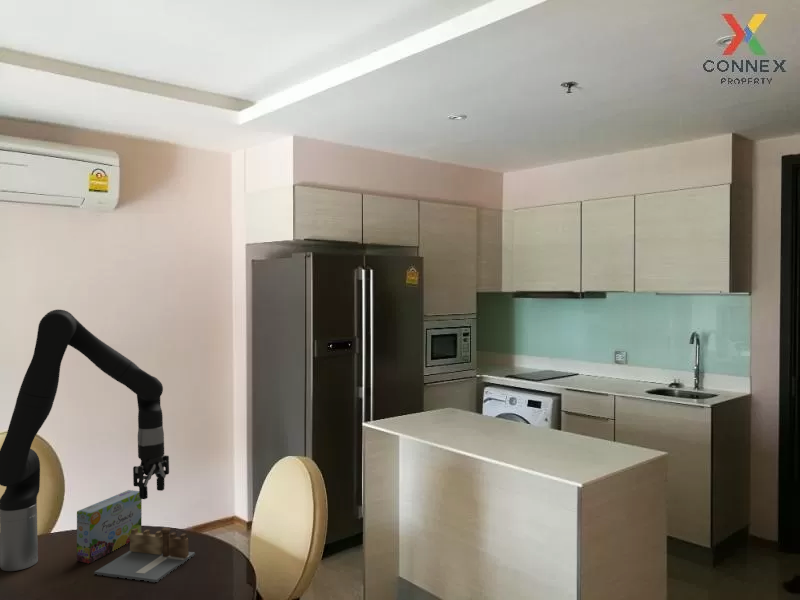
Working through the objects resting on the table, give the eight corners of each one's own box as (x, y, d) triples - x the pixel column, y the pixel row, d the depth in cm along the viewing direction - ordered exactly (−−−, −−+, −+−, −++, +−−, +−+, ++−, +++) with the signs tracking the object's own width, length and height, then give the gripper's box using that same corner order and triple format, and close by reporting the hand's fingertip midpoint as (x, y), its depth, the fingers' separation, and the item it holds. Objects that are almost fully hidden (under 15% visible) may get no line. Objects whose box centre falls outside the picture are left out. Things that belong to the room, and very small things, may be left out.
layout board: (94, 574, 174) (94, 571, 174) (137, 548, 191) (137, 545, 191) (156, 582, 168) (156, 579, 168) (195, 555, 186) (195, 552, 186)
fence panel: (129, 551, 186) (129, 529, 186) (133, 549, 188) (133, 528, 187) (160, 554, 183) (160, 533, 183) (163, 552, 185) (163, 531, 185)
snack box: (91, 564, 180) (90, 512, 180) (76, 562, 182) (75, 510, 182) (143, 536, 200) (142, 490, 200) (128, 534, 202) (128, 488, 202)
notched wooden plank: (159, 559, 183) (159, 530, 183) (165, 556, 185) (164, 527, 185) (184, 562, 181) (184, 533, 180) (189, 558, 183) (189, 529, 183)
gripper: (155, 435, 200) (156, 486, 200) (124, 446, 186) (125, 501, 186) (175, 436, 198) (177, 488, 198) (146, 447, 184) (147, 503, 184)
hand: (152, 494), depth 192 cm, fingers open, 7 cm apart
